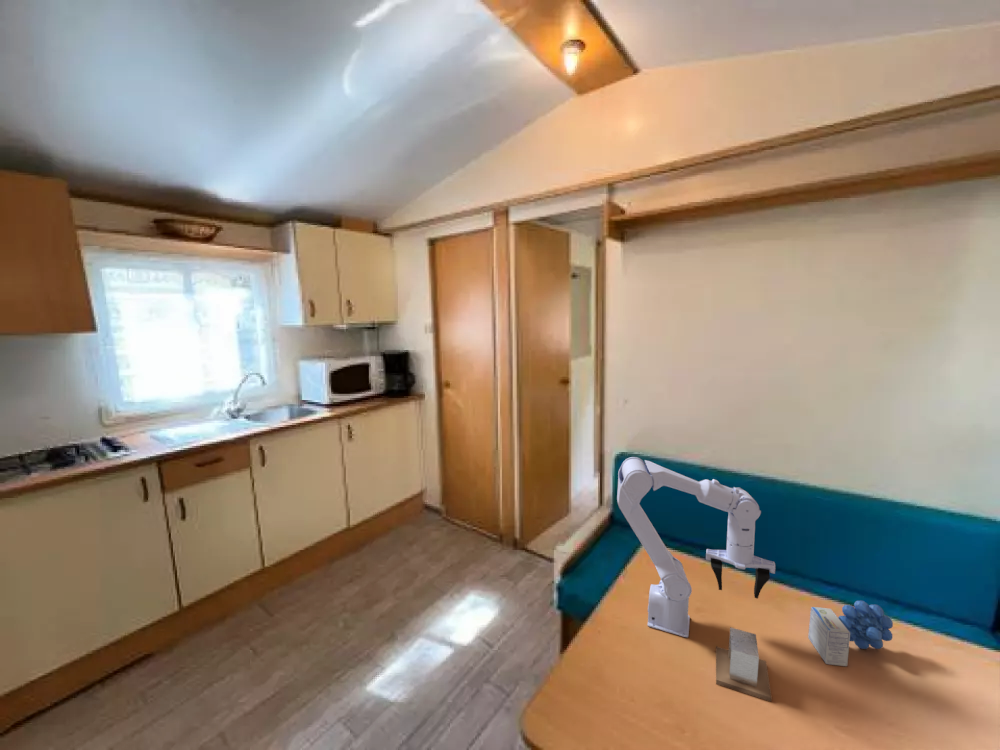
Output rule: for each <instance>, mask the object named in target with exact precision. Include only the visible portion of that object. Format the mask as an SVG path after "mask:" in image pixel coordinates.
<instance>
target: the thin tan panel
mask: <svg viewBox="0 0 1000 750" xmlns="http://www.w3.org/2000/svg"><path fill="white" fill-rule="evenodd" d="M728 652H729V649H726V648H723V647H719V646H717V645H716V646H715V683H716V685H718V686H722V687H724V688H728V689H730V690H734V691H737V692H740V693H743V694H746V695H748V696H751V697H754V698H755V697H756V698H758V699H761V700H764V701H766V702H769V703H770V702H772V693H771V685H770V679H769V671H768V665H767V661H766V660H763V659H760V658H759V662H758V675H757V687H754V686H751V685H748V684H745V683H742V682H739V681H735V680H732V679H729V671H730V658H728Z"/></svg>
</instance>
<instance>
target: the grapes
mask: <svg viewBox="0 0 1000 750" xmlns="http://www.w3.org/2000/svg"><path fill="white" fill-rule="evenodd" d="M853 605H854V606H852V605H850V604H845V605H842V607H841V610H842V611H841V612H842V613H843V614H842V615H839V616H837V617H838V618H839V619H840V621H841V622H842V623H843V624H844V626H845V627H846V628H847V629H848V631H849V632H850V641H849V642H854V644H855V646H856V647H858V648H859V649H862V650H867V649H869V647H870V646H871V648H873V649H875V650H880V649H882V648H884V642H890V641H892V639H893V633H892V631H891V630H890V629H892V628H893V627H894V624H893V623H894V622H893V621H892V619H891V618H890V617H889V616H888V615H885V611H884V610H883V608H882V607H881V606H880V605H878V604H870V605H869V604H868V603H867V602H865V601H864V600H856V601H855V602H854V604H853Z"/></svg>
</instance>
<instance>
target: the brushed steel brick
mask: <svg viewBox="0 0 1000 750" xmlns="http://www.w3.org/2000/svg"><path fill="white" fill-rule="evenodd" d="M728 640H729V641H728V650H729V652H728V658H730V671H729V679H732V680H735V681H739V682H742V683H745V684H748V685H751V686H754V687H757V675H758V662H759V659H760V657H759V649H758V648H759V647H758V639H757V634H756V633H752V632H749V631H745V630H741V629H738V628H734V627H730V628H729V639H728Z"/></svg>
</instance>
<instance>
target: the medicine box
mask: <svg viewBox="0 0 1000 750" xmlns="http://www.w3.org/2000/svg"><path fill="white" fill-rule="evenodd" d="M809 614H810V615H809V625H808V634H807V636H808V640H809V641H810V642H811V644H812V645H813V647H814V648H815V650H816V652H817V653H818V654H819V655H820V657H821V659H822V660H823V662H824V663H825V664H826V665H831V666H832V665H833V666H841V667H847V666H848V661H849V660H848V659H849V650H850V642H851V641H850V632H849V631H848V629H847V628H846V627H845V626H844V624H843V623H842V622H841V621H840V619H839V618H838V617H839V616H838V615H836V613H835V612H834V611H833V609H832V608H826V607H820V606H819V607H817V606H811V607H810V613H809Z"/></svg>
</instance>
